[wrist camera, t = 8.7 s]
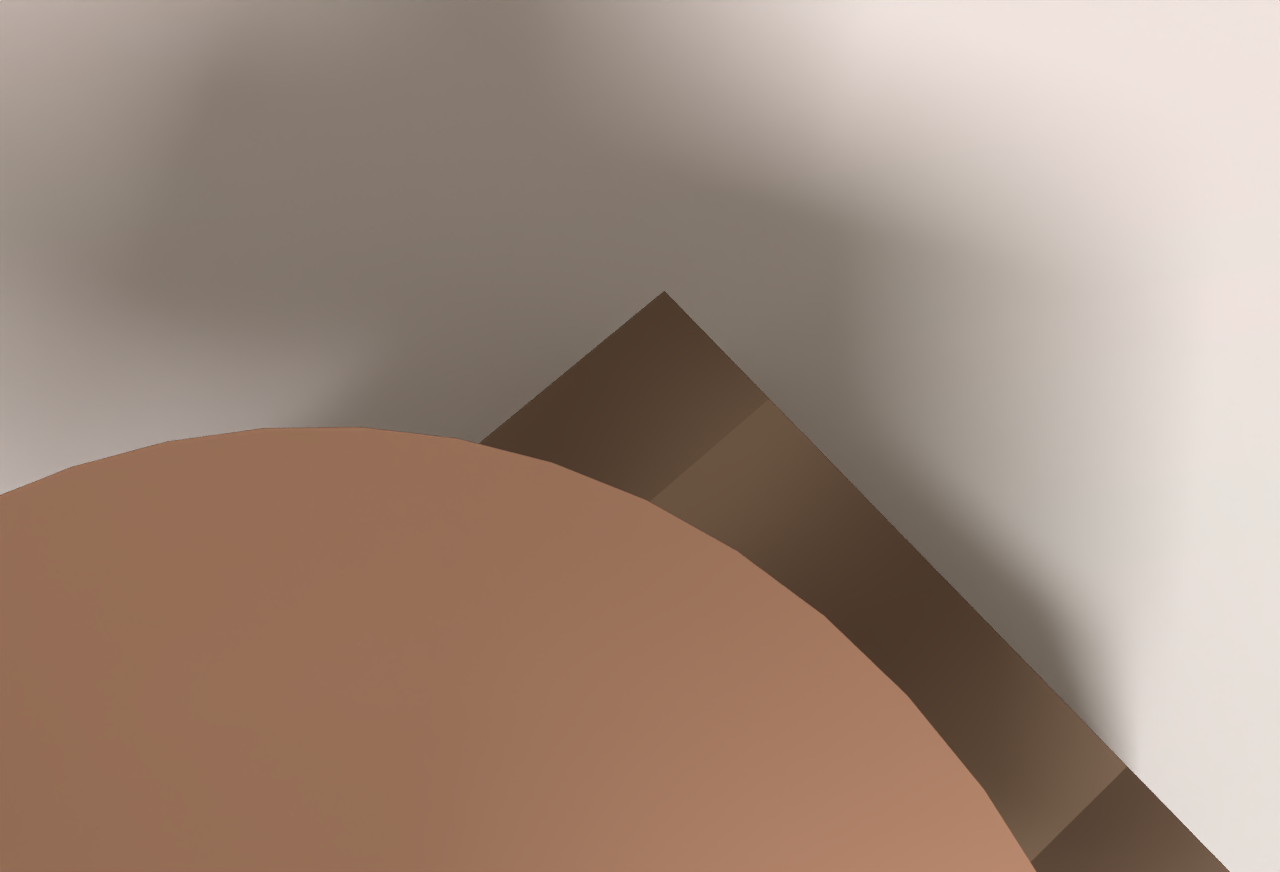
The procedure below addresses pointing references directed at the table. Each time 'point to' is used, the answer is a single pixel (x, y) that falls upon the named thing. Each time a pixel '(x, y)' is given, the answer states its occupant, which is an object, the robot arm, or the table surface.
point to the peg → (435, 678)
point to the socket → (847, 580)
